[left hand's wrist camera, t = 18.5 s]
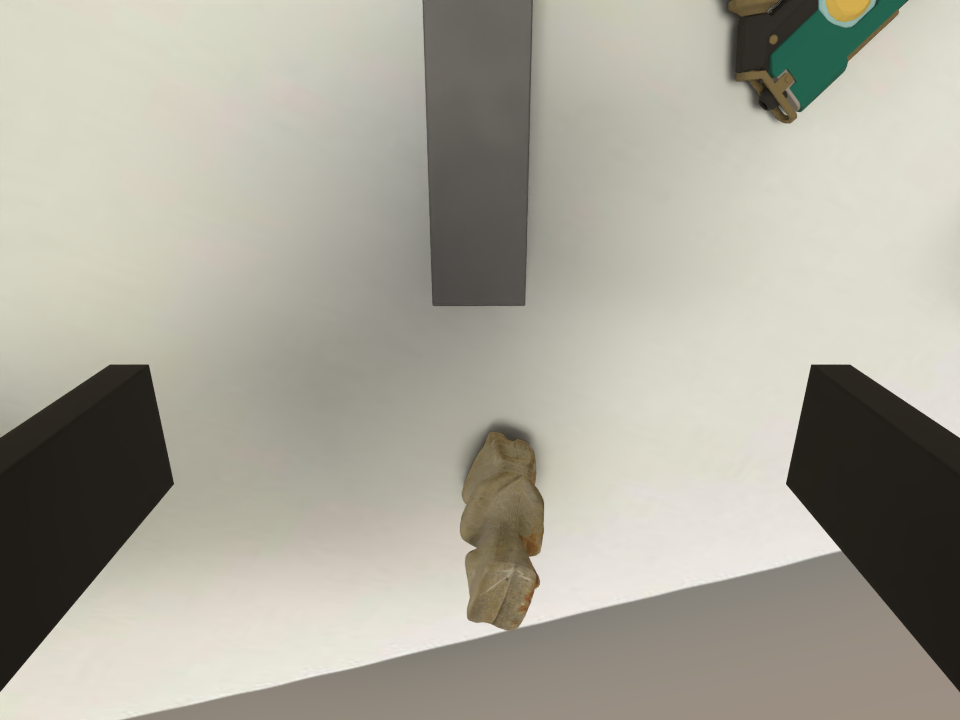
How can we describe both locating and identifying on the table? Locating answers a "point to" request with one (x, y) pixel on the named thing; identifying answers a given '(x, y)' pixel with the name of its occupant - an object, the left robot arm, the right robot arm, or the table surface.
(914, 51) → the table surface
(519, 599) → the sculpture
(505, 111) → the bar
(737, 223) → the table surface
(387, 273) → the table surface
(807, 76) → the spray gun
